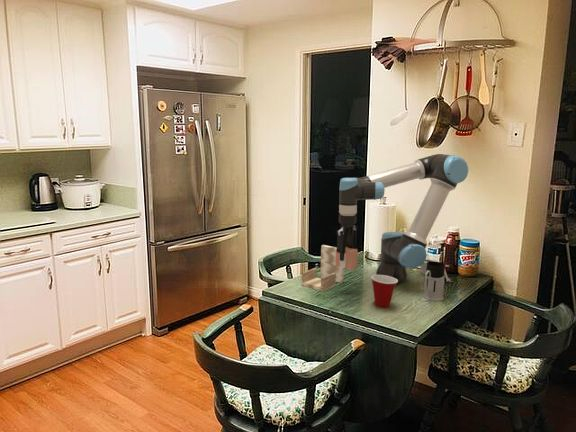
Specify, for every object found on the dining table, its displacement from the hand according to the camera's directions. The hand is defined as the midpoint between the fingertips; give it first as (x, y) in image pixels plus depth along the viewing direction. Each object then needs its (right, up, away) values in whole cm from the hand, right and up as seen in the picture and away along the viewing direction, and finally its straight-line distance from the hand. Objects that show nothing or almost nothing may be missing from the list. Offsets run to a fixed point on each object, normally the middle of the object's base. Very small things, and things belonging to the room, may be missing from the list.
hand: (346, 265), depth 204 cm
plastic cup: (+14, -15, -11) cm, 24 cm away
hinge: (+46, -9, +25) cm, 53 cm away
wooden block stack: (-9, -10, +14) cm, 19 cm away
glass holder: (+36, -14, -3) cm, 39 cm away
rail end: (0, 0, 0) cm, 0 cm away
